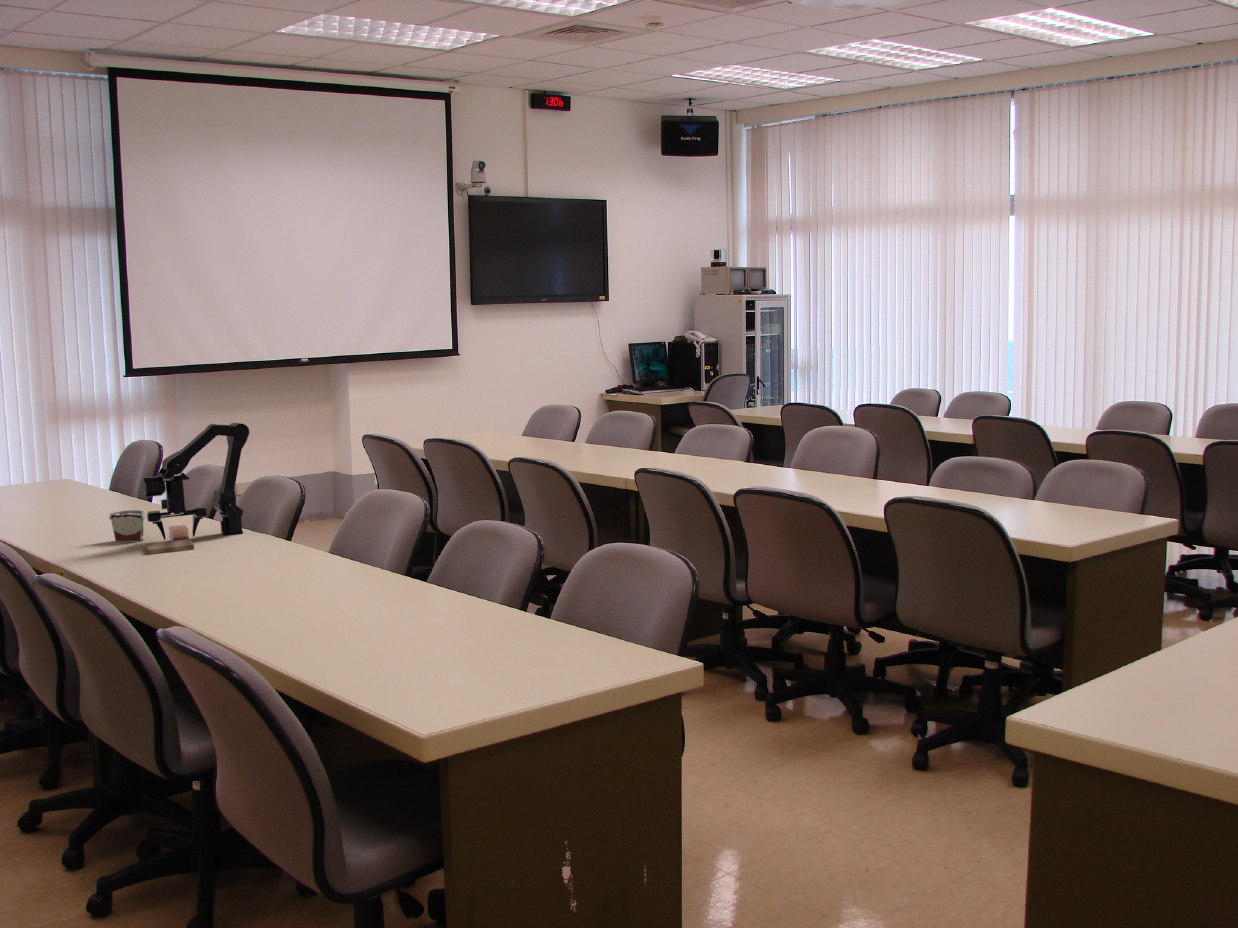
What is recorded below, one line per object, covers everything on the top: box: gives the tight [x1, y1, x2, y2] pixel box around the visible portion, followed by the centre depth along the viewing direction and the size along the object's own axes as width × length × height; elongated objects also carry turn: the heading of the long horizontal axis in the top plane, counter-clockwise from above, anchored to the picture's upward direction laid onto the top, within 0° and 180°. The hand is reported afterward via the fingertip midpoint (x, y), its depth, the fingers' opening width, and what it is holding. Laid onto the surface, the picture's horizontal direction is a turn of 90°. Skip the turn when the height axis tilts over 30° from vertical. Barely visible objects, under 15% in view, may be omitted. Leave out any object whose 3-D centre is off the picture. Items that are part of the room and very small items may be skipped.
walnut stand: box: [145, 538, 195, 555], centre depth 364 cm, size 14×11×2 cm
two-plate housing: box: [168, 524, 190, 541], centre depth 375 cm, size 5×8×5 cm, turn 31°
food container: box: [109, 509, 146, 543], centre depth 380 cm, size 12×6×10 cm, turn 84°
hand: (179, 538), depth 376 cm, fingers open, 9 cm apart
